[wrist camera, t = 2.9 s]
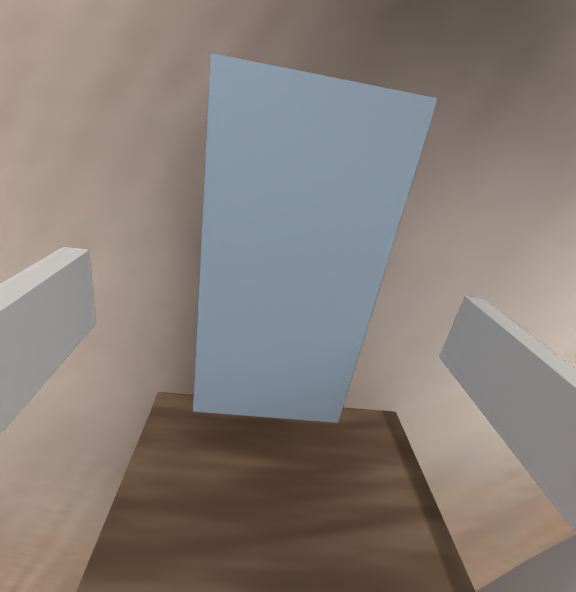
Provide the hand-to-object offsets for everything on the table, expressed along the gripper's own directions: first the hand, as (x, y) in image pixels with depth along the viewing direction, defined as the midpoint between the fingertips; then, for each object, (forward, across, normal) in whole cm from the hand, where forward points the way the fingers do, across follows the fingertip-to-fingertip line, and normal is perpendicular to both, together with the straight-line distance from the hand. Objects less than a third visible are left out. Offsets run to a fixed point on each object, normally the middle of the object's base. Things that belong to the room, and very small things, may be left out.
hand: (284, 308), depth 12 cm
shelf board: (+4, 0, 0) cm, 4 cm away
